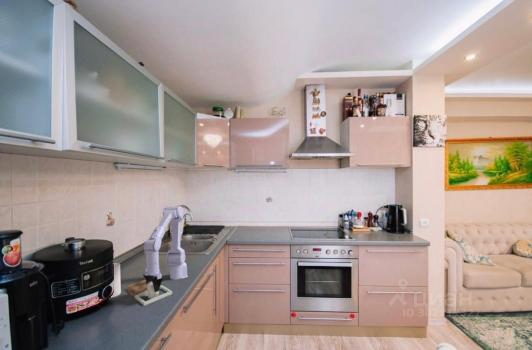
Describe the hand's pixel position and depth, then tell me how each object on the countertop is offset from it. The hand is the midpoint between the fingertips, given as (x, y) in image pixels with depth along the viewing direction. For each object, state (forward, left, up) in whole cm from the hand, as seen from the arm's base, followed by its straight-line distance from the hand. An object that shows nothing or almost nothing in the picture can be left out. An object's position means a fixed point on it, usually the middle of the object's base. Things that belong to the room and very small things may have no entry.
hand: (153, 289), depth 122 cm
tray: (0, 0, -4) cm, 4 cm away
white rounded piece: (0, 0, -4) cm, 4 cm away
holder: (0, -13, -4) cm, 14 cm away
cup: (+13, -20, -5) cm, 24 cm away
